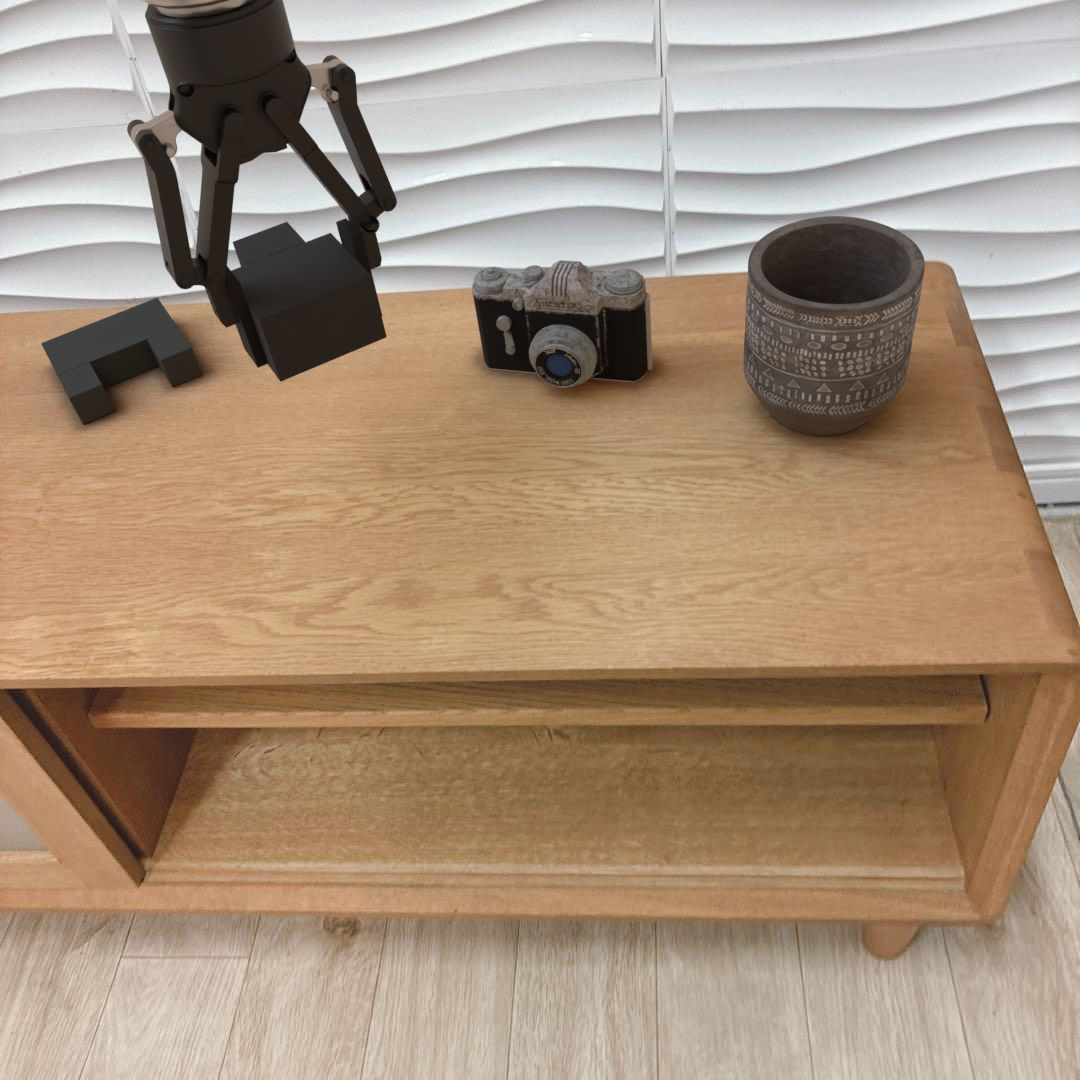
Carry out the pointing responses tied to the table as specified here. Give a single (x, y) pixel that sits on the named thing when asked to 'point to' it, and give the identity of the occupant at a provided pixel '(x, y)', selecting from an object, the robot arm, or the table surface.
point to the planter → (830, 321)
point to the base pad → (119, 355)
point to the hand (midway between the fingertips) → (313, 332)
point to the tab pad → (306, 298)
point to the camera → (565, 322)
